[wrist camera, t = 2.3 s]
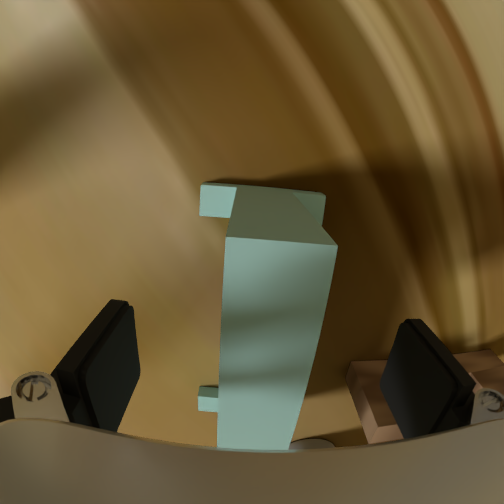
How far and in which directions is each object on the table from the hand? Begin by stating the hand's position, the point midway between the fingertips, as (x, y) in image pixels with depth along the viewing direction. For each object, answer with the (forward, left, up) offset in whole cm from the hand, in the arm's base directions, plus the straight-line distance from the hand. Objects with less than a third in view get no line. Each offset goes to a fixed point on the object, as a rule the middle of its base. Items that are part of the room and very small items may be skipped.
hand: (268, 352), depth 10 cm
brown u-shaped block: (+7, +14, -7) cm, 17 cm away
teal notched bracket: (+3, 0, -7) cm, 8 cm away
